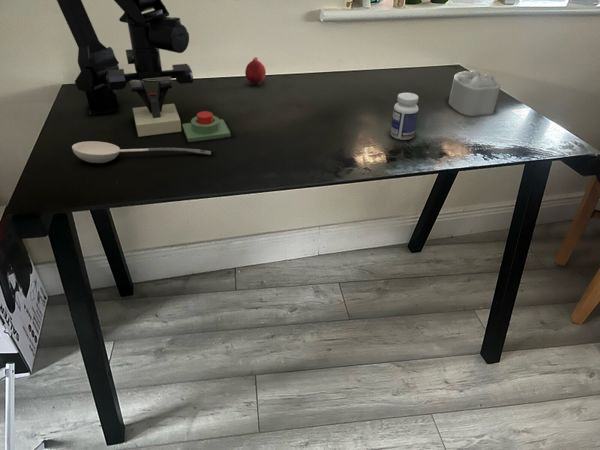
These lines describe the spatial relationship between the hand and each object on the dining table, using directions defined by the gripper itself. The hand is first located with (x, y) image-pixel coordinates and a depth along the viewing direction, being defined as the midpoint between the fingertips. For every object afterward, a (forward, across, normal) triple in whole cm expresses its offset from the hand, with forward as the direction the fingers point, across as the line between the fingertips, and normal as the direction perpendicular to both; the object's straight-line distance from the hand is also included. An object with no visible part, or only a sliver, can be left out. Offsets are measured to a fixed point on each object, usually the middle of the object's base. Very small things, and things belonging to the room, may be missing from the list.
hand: (155, 111), depth 117 cm
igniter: (+4, -11, +7) cm, 13 cm away
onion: (+4, -30, -20) cm, 36 cm away
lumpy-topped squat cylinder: (+4, -82, +10) cm, 83 cm away
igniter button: (+1, -11, +7) cm, 13 cm away
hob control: (+4, 0, 0) cm, 4 cm away
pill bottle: (+4, -55, +21) cm, 59 cm away
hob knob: (0, 0, 0) cm, 0 cm away
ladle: (+4, +4, +16) cm, 17 cm away
